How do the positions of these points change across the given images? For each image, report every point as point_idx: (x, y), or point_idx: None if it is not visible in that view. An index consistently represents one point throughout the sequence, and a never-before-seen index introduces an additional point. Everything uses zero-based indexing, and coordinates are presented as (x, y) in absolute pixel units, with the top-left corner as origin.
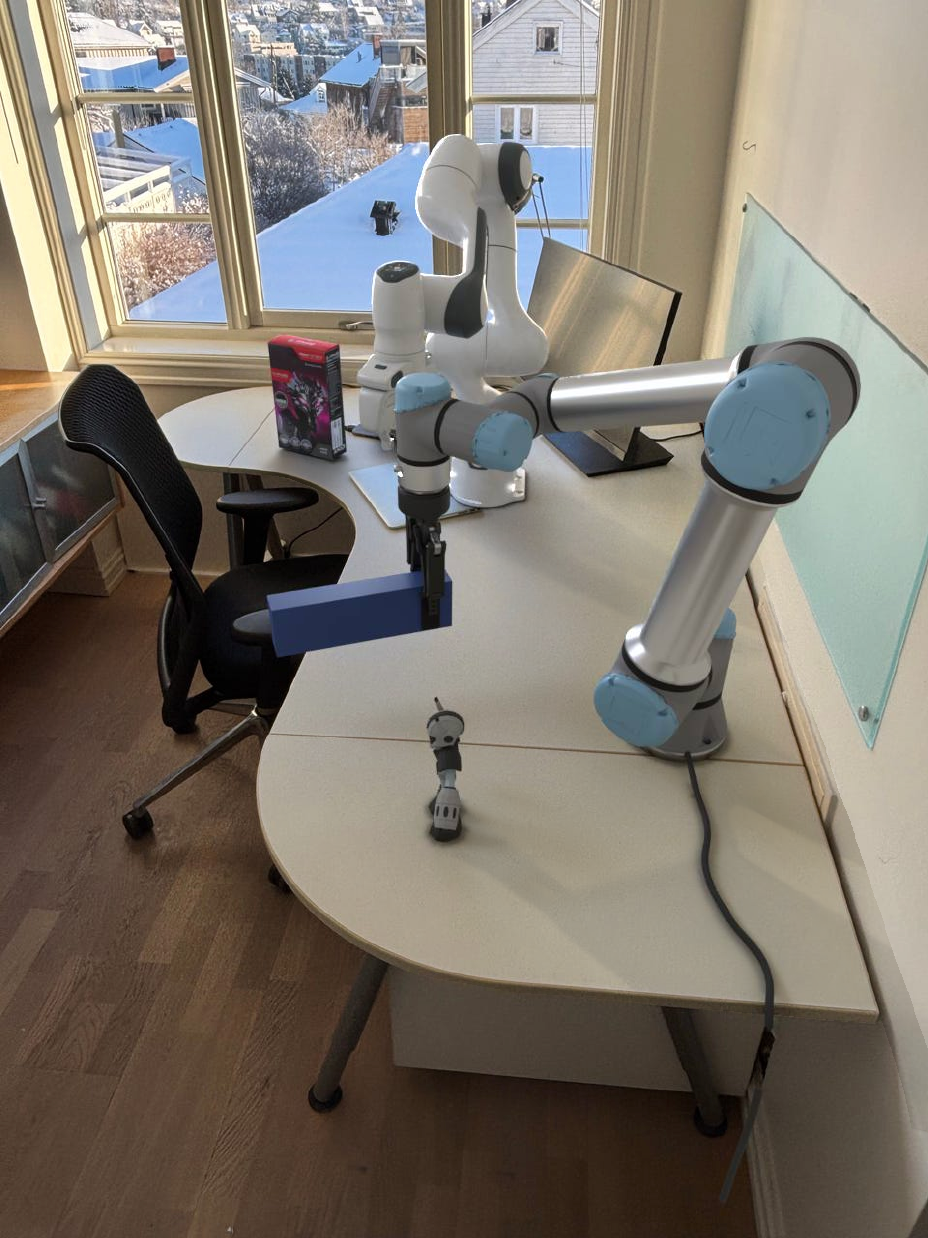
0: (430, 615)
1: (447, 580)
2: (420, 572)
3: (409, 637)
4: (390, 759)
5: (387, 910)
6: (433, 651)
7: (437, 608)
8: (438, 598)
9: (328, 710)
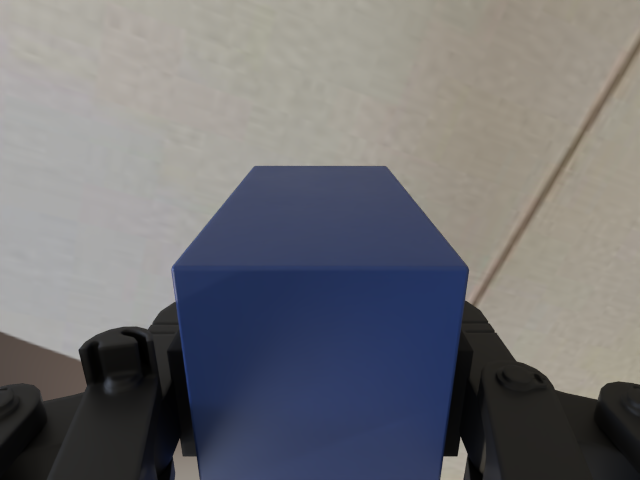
0: None
1: (443, 308)
2: (229, 464)
3: (97, 168)
4: (528, 323)
5: None
6: (176, 123)
7: (489, 325)
8: None
9: None
